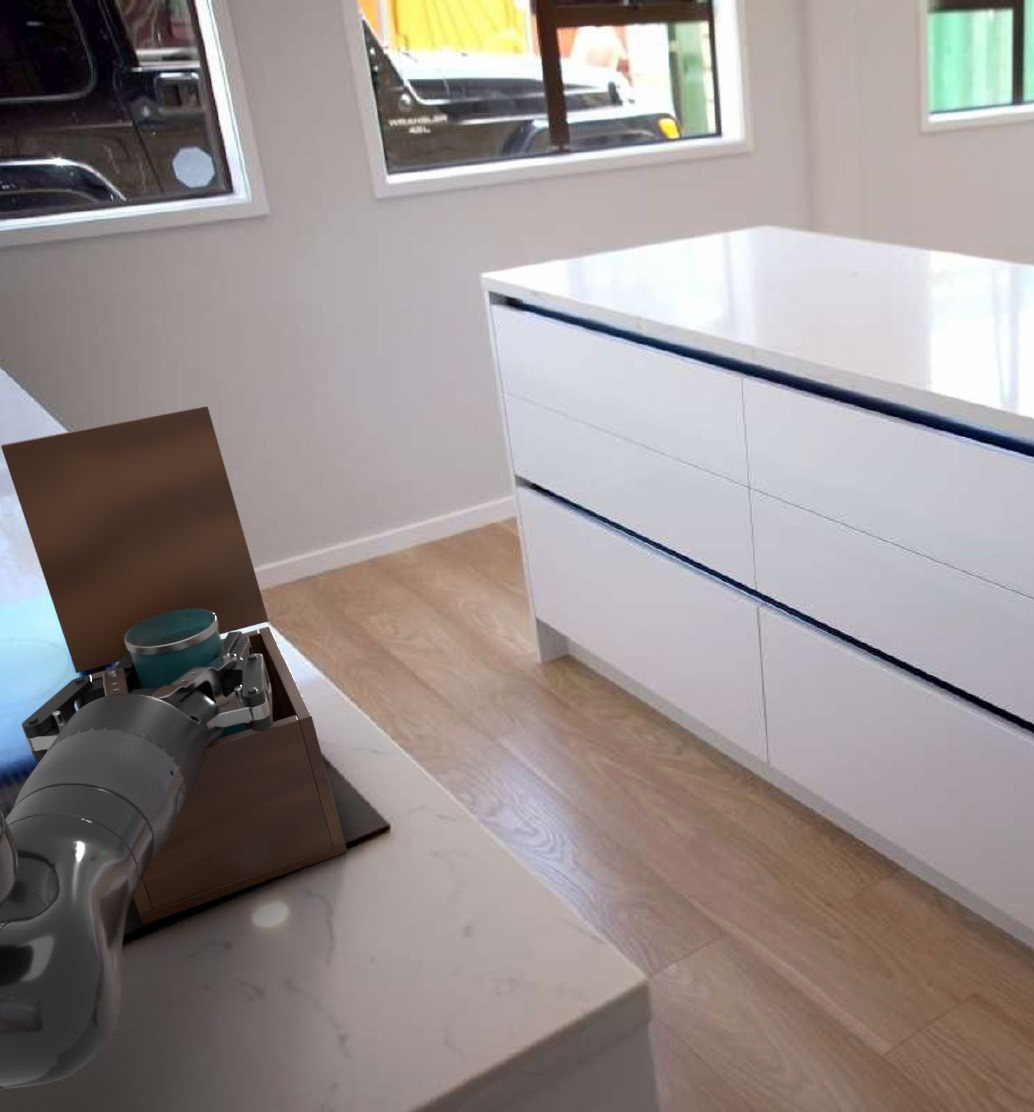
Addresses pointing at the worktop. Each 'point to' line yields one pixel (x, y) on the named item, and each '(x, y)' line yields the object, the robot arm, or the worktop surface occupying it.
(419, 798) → the worktop surface
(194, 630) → the tin
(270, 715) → the robot arm
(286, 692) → the bin
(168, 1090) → the worktop surface
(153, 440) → the lid
